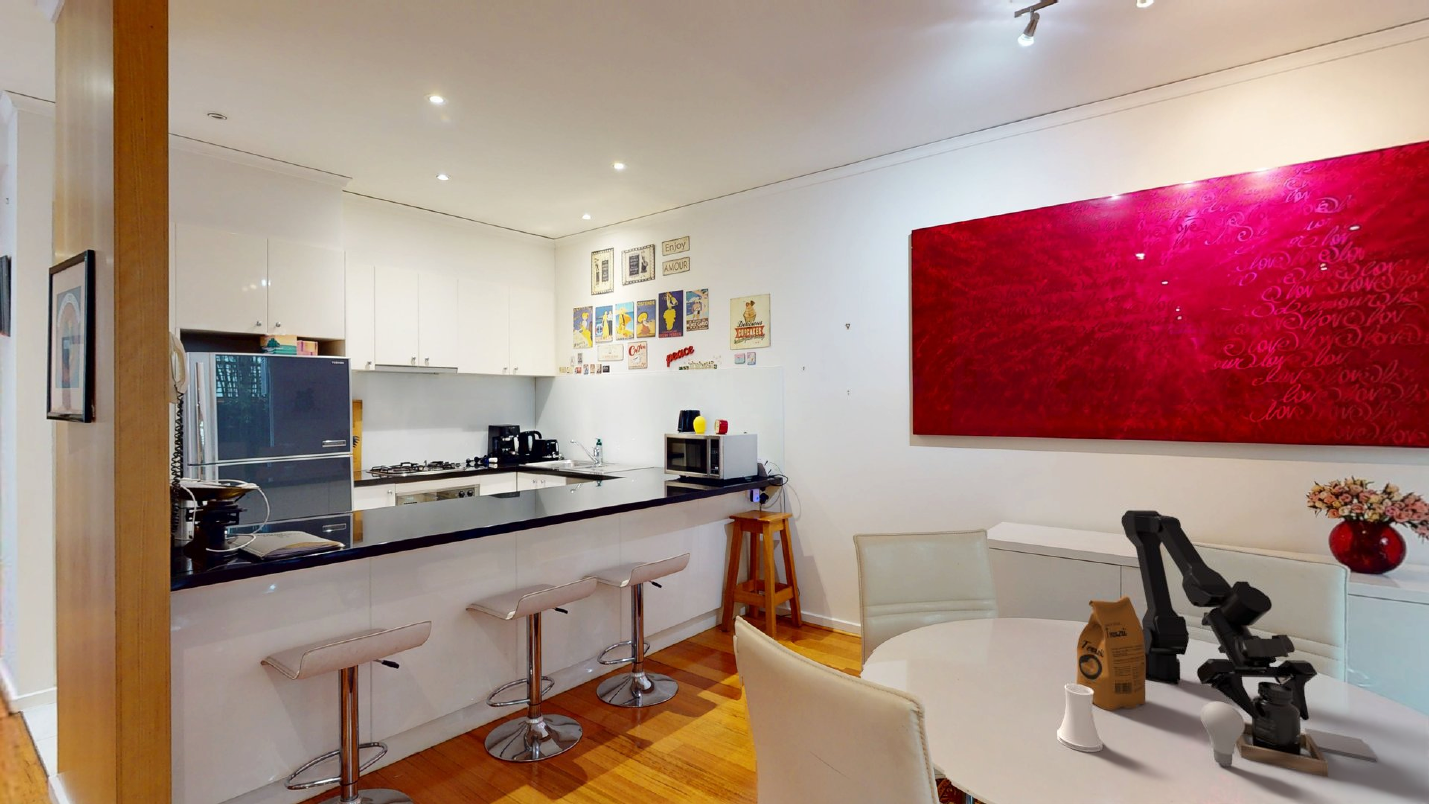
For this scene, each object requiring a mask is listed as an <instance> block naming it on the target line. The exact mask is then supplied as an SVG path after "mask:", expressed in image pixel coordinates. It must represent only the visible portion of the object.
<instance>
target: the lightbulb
mask: <svg viewBox="0 0 1429 804" xmlns="http://www.w3.org/2000/svg"><path fill="white" fill-rule="evenodd" d="M1200 720H1201V722H1202V725H1203V726H1204V728H1205V730H1206V731H1207V733H1208V736H1209V739H1210V742H1211V743H1210V744H1211V748H1212V751H1213V759H1214V761H1215V762H1216V763H1217V764H1219V766H1221V767H1227V766H1228V767H1229V766H1231V765H1232V764H1233V756H1234V755H1233V754H1234V753H1235V747H1236V742H1237V740H1238V739H1239V738H1240V736H1241V735H1242V736H1243V734H1242V733H1243V732H1244V728H1245V724H1244V722H1245V720H1244V717H1243V716H1242V714H1241V713H1240V711H1238V709H1236V708H1235V707H1234V706H1233V705H1230V704H1228V703H1227V702H1223V701H1211V702H1208V703H1206V704H1205V705H1204V706H1203V707H1202V709H1201V711H1200Z"/></svg>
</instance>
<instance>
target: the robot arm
mask: <svg viewBox="0 0 1429 804" xmlns="http://www.w3.org/2000/svg"><path fill="white" fill-rule="evenodd" d="M1121 526H1122V527H1123V530H1124V534H1125V537H1126V538H1127V539H1128V540H1129V541H1130V543H1132V545H1133V546H1134V547H1135V549H1136V555H1137V560H1138V566H1139V571H1140V576H1141V581H1142V586H1143V592H1144V597H1145V602H1146V608H1147V609H1146V612H1145V613H1144V615H1143V617H1142V620H1141V622H1142V623H1141V626H1142V630H1143V636H1144V644H1145V658H1146V671H1145V673H1146V679H1145V680H1151V681H1155V682H1160V683H1167V684H1172V685H1179V681H1180V680H1181V662H1180V659H1179V658H1178V655H1182V656H1185V655H1186V652H1187V648H1188V644H1189V640H1190V637H1189V635H1190V633H1189V631H1188V628H1187V621H1186V618H1185V617H1184V616H1181V615H1178V613H1177V612H1176V610H1174V607H1173V603H1172V600H1171V594H1170V589H1169V585H1168V580H1167V575H1166V570H1165V569H1166V568H1165V565H1164V560H1163V556H1162V551H1161V544H1163V546H1164V547H1165V549H1166V551H1167V553H1168V554H1169V556H1170V557H1171V559H1172V561H1173V563H1174V564H1175V566H1177V568H1178V571H1180V573H1181V575H1182V583H1181V587H1182V589H1183V591H1184V593H1185V596H1186V598H1187V599H1188V601H1189V602H1190V604H1191V605H1192V606H1194V607H1198V608H1212V609H1211V610H1210V611H1207V612H1203V616H1202V619H1201V622H1200V623H1201V625H1202V626H1203V627H1210V628H1211V630H1212V632H1213V634H1214V635H1215V637H1216V639H1217V641H1218V643H1219V644H1220V646H1218V647H1217V650H1218V652H1219V653H1220V654H1225V655H1226V657H1227V658H1208V659H1207V660H1206V661H1204V662H1203V664H1201V665H1200V666H1199V667H1197V671H1196V676H1197V677H1198V680H1199V682H1200V683H1201V684H1202V685H1210V687H1211V688H1212V689H1215V690H1217V691H1219V692H1220V693H1222V694H1223V695H1224V696H1225V697H1226V698H1228V699H1229V700H1231V701H1232V702H1233V703H1234V704H1236V705H1237V706H1238V707H1239V708H1240V709H1242V710H1243V711H1244V712H1246V714H1247V715H1249V716H1250V717H1251V719H1252V718H1253V719H1258V718H1259V715H1258V713H1257V710H1256V708H1255V706H1254V705H1253V703H1252V699H1251V697H1250V696H1249V694H1248V692H1247V690H1246V689H1245V687H1244V682H1243V678H1268V679H1269V678H1271V679H1272V678H1274V680H1275V683H1277V684H1281V685H1284V686H1287V687H1289V688H1291V689H1292V692H1293V701H1291V702H1292V703H1293V704H1294V705H1296V706H1297V707H1298V709H1299V711H1300V719H1302V721H1307V720H1309V719H1310V716H1309V715H1310V714H1309V711H1308V710H1309V709H1308V705H1307V699H1306V695H1305V694H1306V693H1305V692H1306V691H1305V687H1306V684H1307V683H1308V682H1309V681H1310V680H1312V679H1313V678H1314V677H1316V676H1317V675H1318V672H1317V670H1316V668H1314V665H1313V664H1312V663H1311V662H1309V661H1306V660H1301V659H1299V660H1297V659H1287V660H1284V661H1283V662H1281V664H1279V665H1278V666H1271V664H1274V663H1275V662H1277V661H1278V660H1277V658H1280V657H1283V658H1289V657H1290V656H1289V654H1290V653H1291V654H1293V653H1295V650H1296V649H1295V645H1294V644H1293V643H1294V642H1292V640H1291V639H1290V637H1289V636H1288V635H1287V634H1275V635H1271V638H1261V636H1259V635H1255V634H1254V635H1253V634H1252V632H1251V631H1250V629H1249V626H1253V625H1254V624H1256V623H1257V622H1258V621H1259V620H1260V619H1262V618H1263V617H1264V616H1265V615H1266V614H1267V613H1268V612H1270V610H1271V609H1272V608H1273V603H1272V600H1271V599H1270V597H1269V596H1268V595H1266V594H1265V593H1264V592H1263V591H1261V590H1260V589H1258V588H1256V587H1254V586H1251V585H1250V583H1249V582H1248V581H1247V580H1245V581H1244V580H1243V581H1242V580H1239V581H1237V580H1236V581H1235V582H1234V584H1233V585H1232V586H1231V585H1230V583H1228V582H1227V580H1226V579H1225V578H1224V577H1223V576H1222V574H1221V573H1219V572H1217V571H1216V570H1214V569H1212V568H1211V567H1209V566H1208V565H1207V564H1206V563H1205V561H1204V560H1203V558H1202V557H1201V555H1200V553H1199V552H1198V550H1197V549H1196V548H1195V546H1194V544H1193V543H1192V542H1191V540H1190V539H1189V538H1188V536H1187V534H1186V533H1185V531H1184V530H1183V529H1182V524H1181V521H1180V520H1179V519H1178V517H1176V516H1175V517H1174V516H1170V515H1163V514H1161V513H1159V512H1158V511H1156V510H1149V509H1148V510H1139V509H1138V510H1132V509H1131V510H1130V509H1129V510H1126V512H1125V513H1124V514H1123V515H1122V516H1121Z"/></svg>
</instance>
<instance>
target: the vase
mask: <svg viewBox="0 0 1429 804" xmlns="http://www.w3.org/2000/svg"><path fill="white" fill-rule="evenodd" d="M1064 693H1065V711H1064V716H1063V720H1062V723H1061V726H1060V728H1058V729H1057V731H1056V734H1057V735H1056V739H1057V740H1058V742H1060V743H1061V744H1062V745H1064V746H1066V747H1067V748H1070V749H1073V750H1076V751H1080V752H1087V753H1094V752H1095V753H1096V752H1099V751H1102V749H1103V747H1104V745H1103V739H1102V738H1101V737H1100V735H1099V733H1098V729H1097V727H1096V723H1095V718H1094V714H1093V713H1094V711H1093V703H1092V701H1093V693H1094V691H1093V690H1092V689H1091V688H1089V687H1086V686H1083V685H1079V684H1077V683H1067V684H1065V685H1064Z"/></svg>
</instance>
